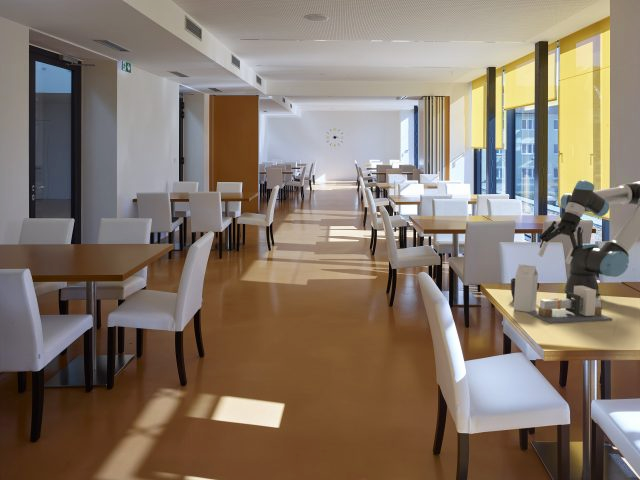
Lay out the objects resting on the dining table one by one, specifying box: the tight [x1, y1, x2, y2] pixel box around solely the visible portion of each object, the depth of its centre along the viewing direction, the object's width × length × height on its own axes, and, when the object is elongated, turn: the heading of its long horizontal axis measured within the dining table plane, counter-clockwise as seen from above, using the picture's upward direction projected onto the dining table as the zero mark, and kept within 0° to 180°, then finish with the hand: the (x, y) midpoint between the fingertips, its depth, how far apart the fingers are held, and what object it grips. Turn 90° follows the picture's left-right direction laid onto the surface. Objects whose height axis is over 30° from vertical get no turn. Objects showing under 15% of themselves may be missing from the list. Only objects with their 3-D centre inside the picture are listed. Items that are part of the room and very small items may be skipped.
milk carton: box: [513, 263, 539, 313], centre depth 285 cm, size 7×7×19 cm
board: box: [528, 309, 613, 324], centre depth 275 cm, size 27×16×1 cm, turn 103°
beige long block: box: [538, 296, 603, 318], centre depth 275 cm, size 25×5×7 cm, turn 103°
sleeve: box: [573, 286, 597, 316], centre depth 276 cm, size 4×9×10 cm, turn 13°
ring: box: [564, 292, 580, 314], centre depth 275 cm, size 2×7×7 cm, turn 13°
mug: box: [510, 277, 540, 302], centre depth 302 cm, size 8×12×10 cm
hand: (553, 259), depth 295 cm, fingers open, 13 cm apart
